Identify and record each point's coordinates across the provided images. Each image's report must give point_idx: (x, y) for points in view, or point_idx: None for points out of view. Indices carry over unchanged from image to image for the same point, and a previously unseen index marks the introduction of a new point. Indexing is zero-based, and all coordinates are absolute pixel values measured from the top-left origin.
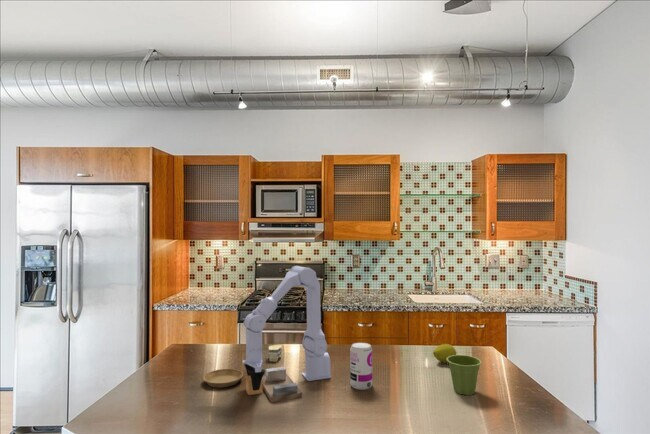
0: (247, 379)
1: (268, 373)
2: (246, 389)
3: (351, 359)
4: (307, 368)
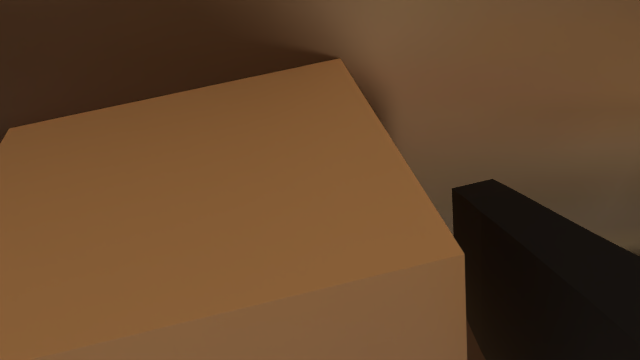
0: (81, 336)
1: None
2: (246, 94)
3: None
4: None
